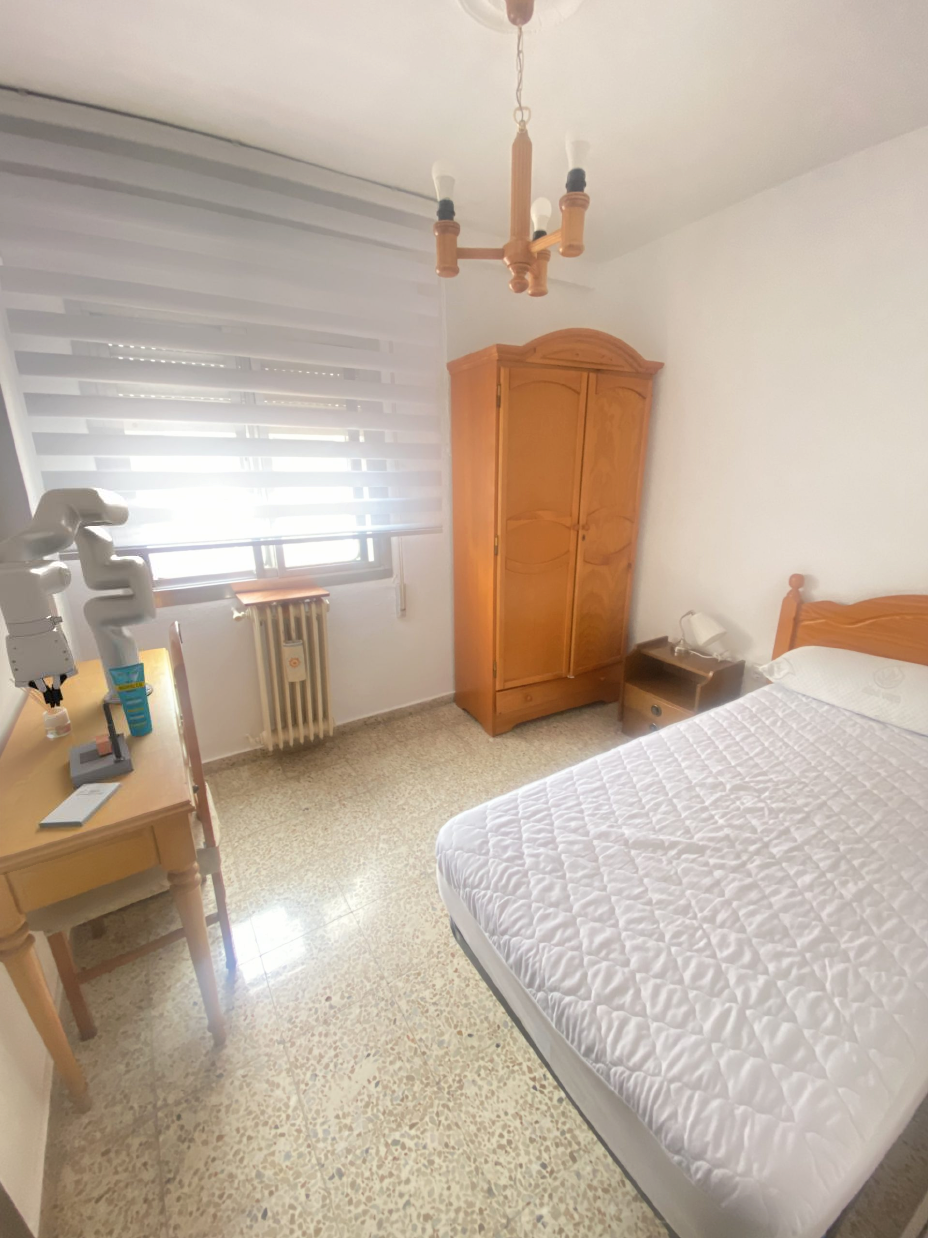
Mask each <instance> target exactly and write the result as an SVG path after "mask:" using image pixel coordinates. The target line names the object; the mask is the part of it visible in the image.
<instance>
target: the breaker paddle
mask: <svg viewBox="0 0 928 1238" xmlns="http://www.w3.org/2000/svg"><path fill="white" fill-rule="evenodd" d="M108 737H109V733H104V734H100V735H97V736H94V739H95V740H94V741H96V745H97V748H98V752H99V756H101V755H104V754H107V753H111V752H112V750H111V745H110V741H109V738H108Z"/></svg>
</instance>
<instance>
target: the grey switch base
mask: <svg viewBox="0 0 928 1238" xmlns="http://www.w3.org/2000/svg"><path fill="white" fill-rule="evenodd" d="M116 735H117V739H118V743H119V747H120V750H121V754H122V757H121V758H116V757H115V753H114V750H113V746H112V742H111V739H110V735H108V738H109V741H110V745H111V750H112V752H111V753H107V754H104V755H101V756H99V752H98V748H97V745H96V740H94V741H90V742H86V743H83V744H80V745H76V746H72V747H69V748H68V756H69V758H68V759H69V771H70V780H71V782H72V786H73V789H74V790H77V789H78V788H79V787H81V786H82V785H83V784H94V783H99V782H101V781H103V780H106V779H109V778H113V777H116V776H118V775H122V774H126V773H128V772H131V771H134V768H133V767H134V766H133V763H132V759H131V756H130V752H129V748H128V745H127V741H126V738H125V734H124V732H121V733H116Z"/></svg>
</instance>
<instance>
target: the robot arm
mask: <svg viewBox="0 0 928 1238" xmlns="http://www.w3.org/2000/svg"><path fill="white" fill-rule="evenodd" d="M128 520H129V507H128V505H127V503H126V501H125V500H124V498H123V497H122V496H120V495H119V494H117V493H115V492H112V491H108V490H106V489H102V488H97V487H68V488H65V487H63V488H62V487H61V488H53V489H49V490H47V491H46V492H44V493H43V494H42V496H41V497H40V499H39V502H38V504H37V507H36V509H35V512H34V514H33V517H32V519H31V521H30V523H29V526H27V527H25V528H24V529H21V530H20V531H18V532H16V533H14V534H13V535H11V536H9V537H7V538H6V539H4V540H2V541H1V542H0V610H1V614H2V617H3V620H4V624H5V626H6V629H7V633H8V635H5V647H6V654H7V658H8V662H9V666H10V670H11V673H12V677H13V679H14V688H18V689H19V688H31V689H34V690H37V691H39V692H40V693H42V696H43V698H44V702H45V704H46V705H49V706H50V708H51V709H53V708H55V707H61V701H64V696H63V693H62V690H61V686H62V685H63V684H64V683H65V681H66V680H67V679H70V678H72V677H75V676H77V675H78V674H79V670H78V668H77V667H76V665H75V660H74V657H73V654H72V649H71V648H70V645H69V642H68V639H67V638H66V635H65V633H64V631H63V630H62V628H61V626H59V625H58V624H61V623H63V622H64V621H63V617H62V616H61V615H60V616H59V615H58V616H56V615H53V613H52V610H51V606H50V604H49V603H50V602H49V600H48V596H50V595H55V594H56V595H57V594H60V593H62V592H64V591H66V589H67V588H69V586H70V584H71V581H72V573H71V571H70V569H69V567H68V566H67V565H66V564H65V563H63V562H62V561H59V560H55V559H41V558H46V557H48V556H51V555H54V554H56V553H59V552H62V551H64V550H67V549H68V548H69V547H71V546H72V545H73V544H74V543H75V545H76V549H77V553H78V557H79V563H80V567H81V573H82V576H83V581H84V584H85V585H86V587H87V588H88V589H89V590H91V591H96V592H106V591H117V590H118V591H120V590H131V591H132V592H131V593H121V594H120V593H118V594H108V595H107V594H106V595H99V596H94V597H92V598H89V599H88V600H87V601H85V603H84V606H83V609H82V610H83V611H82V612H83V616H84V618H85V621H86V622H87V624H88V626H89V628H90V630H91V633H92V636H93V638H94V641H95V645H96V648H97V651H98V657H99V660H100V664H101V667H102V672H103V675H104V679H105V682H106V687H107V690H108V691H107V692H106V693H105V694H104V696H103V700H104V703H108V704H113V705H116V704H119V705H120V704H121V701H120V698H119V695H118V692H117V689H116V686H115V684H114V681H113V679H112V676H111V674H110V672H109V670H108V669H111V668H118V667H124V666H129V665H134V664H138V663H142V662H141V659H140V655H139V654H140V653H139V649H138V646H137V640H136V638H135V637H134V635H133V633H131V631H129V630H128V629H127V628H126V627H130V626H131V627H132V626H134V627H135V626H142V625H148V624H151V623H153V622H154V621H156V617H157V606H156V600H155V595H154V591H153V585H152V578H151V574H150V569H149V567H148V564H147V563H146V561H145V560H144V559H143V558H142V557H140V556H136V555H127V556H117V553H116V550H115V545H114V541H113V539H112V538H111V535H109V534H108V532H106V531H105V530H104V529H103V528H101V527H114V526H115V527H117V526H123V525H124V524H126V522H127V521H128ZM47 678H52V684H51V686H49V685H48V684H47V682H46V681H45V679H47ZM145 685H146V692H147V696H148V695H150V694H151V693H152V692H153V690H154V688H153V685H152V684H151V683H147V682H145Z"/></svg>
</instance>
